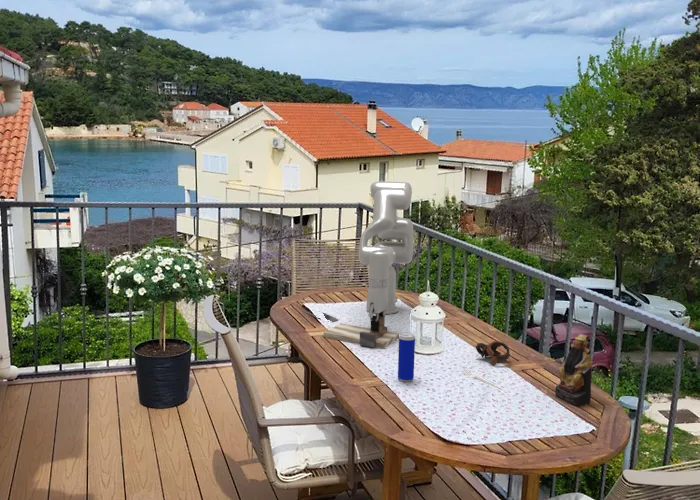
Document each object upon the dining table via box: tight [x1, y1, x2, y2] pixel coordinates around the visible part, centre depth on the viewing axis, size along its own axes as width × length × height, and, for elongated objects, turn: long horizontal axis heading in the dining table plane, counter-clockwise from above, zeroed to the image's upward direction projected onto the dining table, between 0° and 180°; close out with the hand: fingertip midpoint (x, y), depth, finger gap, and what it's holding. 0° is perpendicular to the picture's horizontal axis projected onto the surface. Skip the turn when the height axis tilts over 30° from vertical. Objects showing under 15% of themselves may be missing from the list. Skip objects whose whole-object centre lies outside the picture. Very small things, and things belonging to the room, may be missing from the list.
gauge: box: [359, 315, 389, 348], centre depth 242 cm, size 15×6×9 cm, turn 151°
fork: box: [461, 366, 509, 393], centre depth 205 cm, size 3×20×2 cm, turn 33°
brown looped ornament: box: [475, 340, 511, 366], centre depth 224 cm, size 12×10×8 cm
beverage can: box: [397, 332, 416, 383], centre depth 205 cm, size 5×5×15 cm
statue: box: [554, 333, 593, 407], centre depth 190 cm, size 12×8×20 cm, turn 20°
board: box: [322, 323, 400, 349], centre depth 247 cm, size 14×26×2 cm, turn 61°
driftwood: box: [302, 309, 339, 322], centre depth 275 cm, size 21×7×2 cm, turn 34°
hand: (377, 328), depth 243 cm, fingers closed on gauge, 4 cm apart
